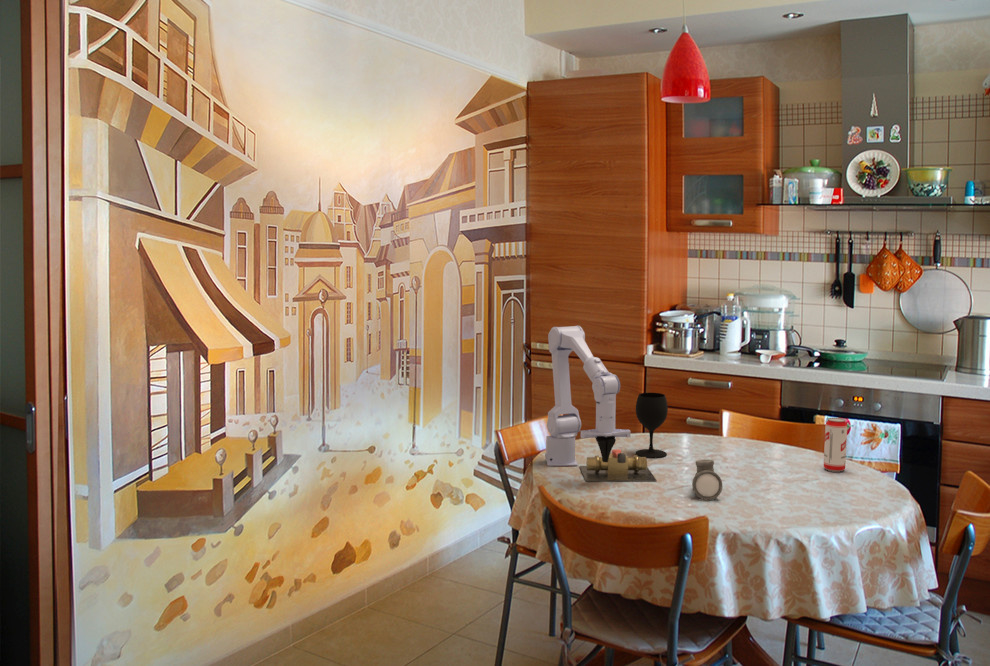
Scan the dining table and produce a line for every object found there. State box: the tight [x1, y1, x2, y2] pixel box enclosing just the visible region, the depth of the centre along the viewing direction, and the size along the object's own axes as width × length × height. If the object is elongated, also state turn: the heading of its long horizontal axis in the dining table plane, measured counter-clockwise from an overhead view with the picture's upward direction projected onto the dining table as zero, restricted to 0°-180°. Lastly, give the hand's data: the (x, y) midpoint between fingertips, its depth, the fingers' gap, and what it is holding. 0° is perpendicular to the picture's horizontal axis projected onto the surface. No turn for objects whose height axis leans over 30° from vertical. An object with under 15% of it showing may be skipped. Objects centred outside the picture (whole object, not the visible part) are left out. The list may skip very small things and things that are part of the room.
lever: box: [611, 448, 627, 463], centre depth 256 cm, size 12×3×2 cm, turn 1°
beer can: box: [823, 417, 848, 473], centre depth 263 cm, size 6×6×16 cm
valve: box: [579, 452, 658, 483], centre depth 260 cm, size 21×16×6 cm
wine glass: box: [635, 392, 669, 459], centre depth 282 cm, size 10×10×20 cm
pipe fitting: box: [691, 459, 723, 501], centre depth 240 cm, size 12×8×10 cm
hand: (605, 461), depth 251 cm, fingers closed
